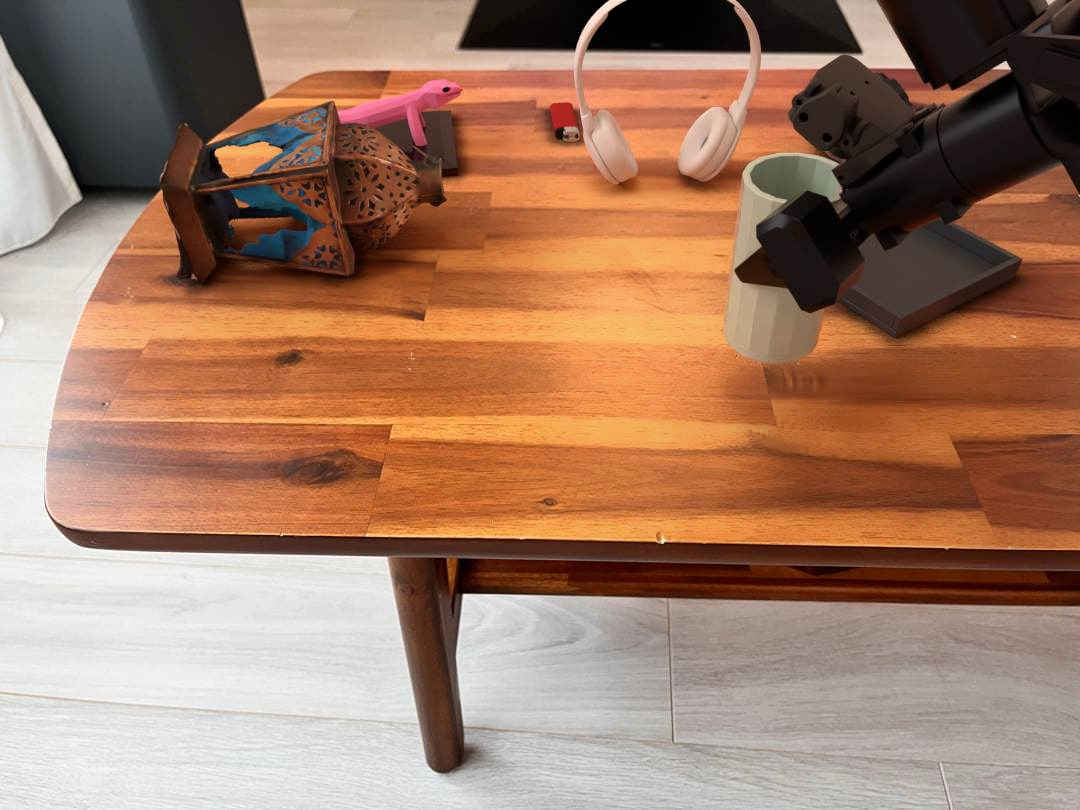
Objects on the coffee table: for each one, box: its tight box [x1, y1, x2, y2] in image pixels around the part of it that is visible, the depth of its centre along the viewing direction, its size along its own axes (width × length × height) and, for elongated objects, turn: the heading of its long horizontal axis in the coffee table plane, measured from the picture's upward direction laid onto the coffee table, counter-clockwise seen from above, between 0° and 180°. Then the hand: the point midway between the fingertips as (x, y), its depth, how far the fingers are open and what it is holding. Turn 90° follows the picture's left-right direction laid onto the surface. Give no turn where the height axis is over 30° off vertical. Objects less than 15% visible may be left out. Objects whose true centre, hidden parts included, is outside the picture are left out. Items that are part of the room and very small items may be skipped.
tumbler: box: [722, 152, 848, 365], centre depth 63 cm, size 7×7×13 cm
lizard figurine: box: [337, 78, 464, 177], centre depth 100 cm, size 15×20×7 cm
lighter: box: [549, 101, 581, 143], centre depth 106 cm, size 3×1×8 cm
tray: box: [837, 219, 1023, 339], centre depth 84 cm, size 16×16×2 cm
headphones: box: [573, 0, 762, 185], centre depth 90 cm, size 7×18×20 cm, turn 93°
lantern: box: [159, 100, 448, 285], centre depth 83 cm, size 16×16×25 cm
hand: (765, 252), depth 64 cm, fingers closed on tumbler, 7 cm apart
